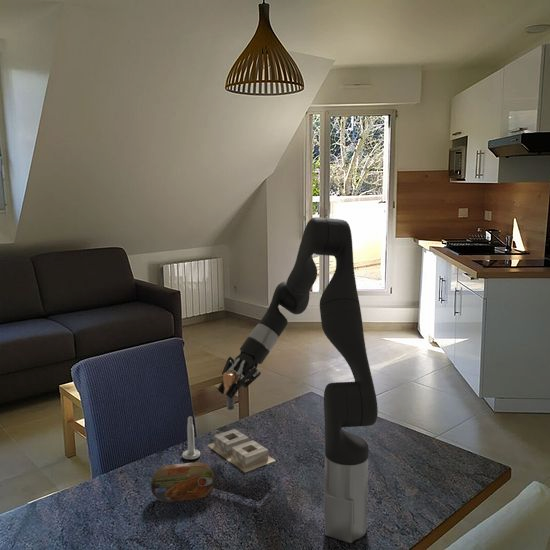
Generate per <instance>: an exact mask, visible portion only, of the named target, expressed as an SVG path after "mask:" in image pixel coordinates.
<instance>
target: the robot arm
mask: <svg viewBox="0 0 550 550" xmlns="http://www.w3.org/2000/svg"><path fill="white" fill-rule="evenodd" d="M302 233H303V234H302V237H301V241H300V244H299V248H298V251H297V256H296V259H295V263H294V265H293V268H292V269H291V271H290V274H289V275H288V277H287V279H286V281H282V282H279V284H278V285H277V286H276V287H275V289H274V292H273V295H272V298H271V301H270V303H269V306H268V308H267V310H266V312H265V313H264V315H263V316H262V318H261V320H260V321H259V322H258V324H257V325H256V326H255V327H254V328H253V329H252V330H251V332H249V333H250V334H249V335H248V336H247V338H246V339H245V340H244V342H243V343H242V344H241V346H240V348H239V351H240V353H239V354H238V355H237V356H236V357H232V356H229V357H228V358H227V360H226V363H225V366H224V367H223V369H222V373H221V375H222V376H223V374H224V373H225V372H235V373H236V379H235V381H234V383H233V384H232V385H231V386H230V388H229V389H228V391H227V392H226V395H225V394H224V381H223V380H222V381H221V383H220V384H219V385H218V388H217V391H218V392H219V393H220V394H222V395H223V394H224V395H225V396H226V397H227V396H228V397H229V398H232V397H233V396H234V397H235V396H236V395H237V394H236V392H237V393H238V391H239V390H240V389H241V388H245V389H246V388H247V387H248V386H250V385H251V384H252V383H253V382H254V381H255V380H257V378H259V377H260V376H261V371H259V369H258V366H259V365H262V364H263V363H264V361H265V360H266V358H267V357H268V355H269V354H270V352H272V350H273V349H274V346H275V345H276V343H277V341H278V339H279V337H280V336H281V334H282V333H283V331H284V330H285V328H286V327H287V326H288V318H287V317H286V316H285V315H284V314H283V313H282V312H281V311H280V308H279V306H280V307H282V308H283V309H285V310H286V311H288V312H290V313H291V314H293V315H301V314H302V313H304V312H305V311H306V309H307V308H308V305H309V301H310V292H311V289H312V288H313V286H314V284H315V283H316V280H317V278H318V268H317V265H316V262H315V260H314V258H313V255H318V256H328V257H329V256H330V257H334V259H335V264H336V265H335V271H334V273H333V275H332V277H331V279H330V281H329V282H328V284H327V285H326V287H325V289H324V290H323V292H322V295H321V296H320V299H319V313H320V314H319V315H320V322H321V328H322V331H323V334H324V335H325V336H326V338H327V339H328V340H329V342H330V343H331V344H332V345H333V347H334V348H335V350H337V351H338V353H340V355H341V356H342V357H343V359H344V360H345V361H346V363H347V365H348V367H349V369H350V370H351V373H352V376H353V379H354V381H343V382H341V381H339V382H337V381H336V382H330V383H327V384H326V386H325V388H324V392H323V412H324V413H323V415H324V504H323V505H324V509H323V510H324V514H323V515H324V519H323V521H324V525H323V526H324V536H326V537H330V538H332V539H336V540H339V541H342V542H345V543H349V544H352V543H353V542H354V541H356V540H359V539H361V538H362V537H364V536H365V535H366V534H367V529H368V527H367V526H368V490H369V489H368V488H369V487H368V484H369V483H368V479H369V478H368V477H369V445H368V442H367V441H366V439H365V438H362V437H361V436H359V435H357V434H354V433H351V432H349V431H346V430H345V429H343V428H352V427H353V428H354V427H355V428H357V427H368V426H373V425H375V423H376V422H377V419H378V411H379V410H378V401H377V400H378V399H377V394H376V390H375V385H374V382H373V381H374V380H373V376H372V373H371V368H370V363H369V358H368V353H367V348H366V342H365V341H366V340H365V335H364V326H363V318H362V309H361V304H360V300H359V293H358V287H357V281H356V277H355V276H356V275H355V265H354V251H353V250H354V248H353V239H352V238H353V237H352V230H351V227H350V225H349V223H348V221H346V220H344V219H339V218H329V217H321V216H320V217H316V216H315V217H312V218H310V219H309V221H308V222H307V223H306V225H305V228H304V230H303V232H302Z"/></svg>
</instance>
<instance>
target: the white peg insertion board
mask: <svg viewBox="0 0 550 550" xmlns="http://www.w3.org/2000/svg"><path fill="white" fill-rule="evenodd" d="M206 446H207V447H208V448H210V449H211V450H212V451H215V452H216V453H217V454H218V455H220V456H222V457H223V458H224V459H225V460H226V461H228V462H229V463H231V464H232V465H234V466H235V467H236V468H238V469H240V471H242V472H243V473H248V472H250V471H253V470H256V469H259V468H261V467H264V466H265V465H268V464H271V463H273V462H275V461H277V460H276V459H274V458H273V457H271V456H270V455H269V449H267V448H266V447H264V446H263V445H262V444H260V443H258V442H257V441H255V440H254V439H252V440H250V439H249V436H247V435H245V434H243V433H242V432H241V431H239V430H237V429H236V428H233V429H230V430H227V431H224V432H220V433H218V434H215V435H213V443H210V444H207V445H206Z"/></svg>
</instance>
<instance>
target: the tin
mask: <svg viewBox="0 0 550 550" xmlns="http://www.w3.org/2000/svg"><path fill="white" fill-rule="evenodd" d="M215 485H216V478H215V474H214V471H213V469H212V467H210V466H209V465H208V464H207V463H205V462H200V461H196V462H184V463H175V464H166V465H163V466H161V467H159V468H158V469H157V470H156V471H155V472H154V474H153V477H152V479H151V483H150V489H151V493H152V494H153V496H154V498H156V499H157V500H158V501H161V502H164V503H173V502H174V503H175V502H184V501H190V500H191V501H194V500H200V499H203V498H206V497H208V496H209V495H210V494H211V493H212V491H213V490H214V487H215Z"/></svg>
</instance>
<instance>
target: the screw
mask: <svg viewBox="0 0 550 550" xmlns="http://www.w3.org/2000/svg"><path fill="white" fill-rule="evenodd" d="M193 420H194V419H193V416H191V415H190V416H188V417H187V426H186V434H187V435H186V436H187V437H186V438H187V449H186V450H185V451H183V452H182V454H181V455H182V458H183V459H185V460H189V461H190V460H195V459H198V458H199V457H200V456H201V452H200V450H199V449H195V431H194V430H195V426H194V424H193V422H194V421H193Z"/></svg>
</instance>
